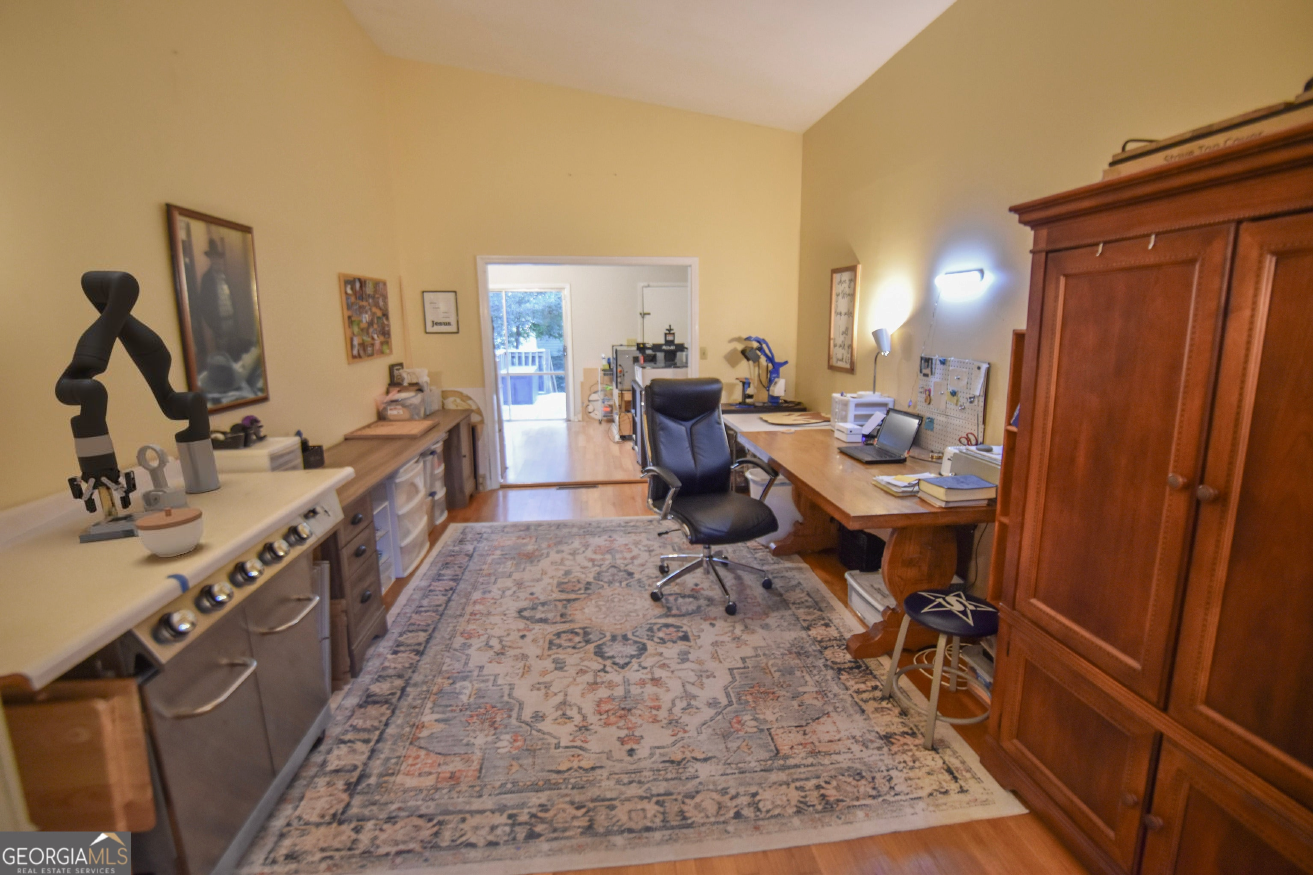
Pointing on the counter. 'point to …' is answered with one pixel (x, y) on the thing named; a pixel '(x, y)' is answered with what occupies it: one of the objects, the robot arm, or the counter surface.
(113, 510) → the brass pin
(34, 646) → the counter surface
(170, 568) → the counter surface
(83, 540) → the gray slotted plate
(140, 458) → the engine component
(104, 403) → the robot arm
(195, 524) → the lidded bowl
